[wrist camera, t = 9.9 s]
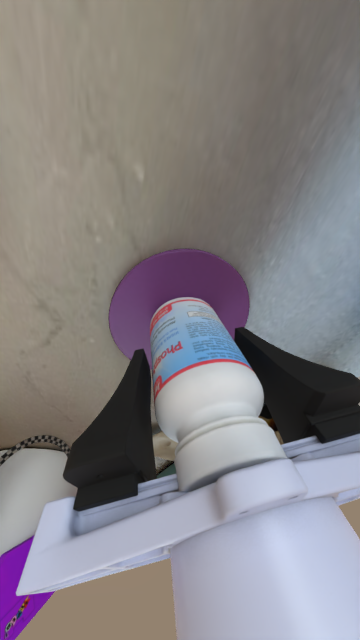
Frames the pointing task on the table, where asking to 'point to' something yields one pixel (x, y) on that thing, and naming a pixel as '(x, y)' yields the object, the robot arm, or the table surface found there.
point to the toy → (19, 569)
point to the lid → (174, 294)
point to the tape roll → (29, 491)
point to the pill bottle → (206, 395)
